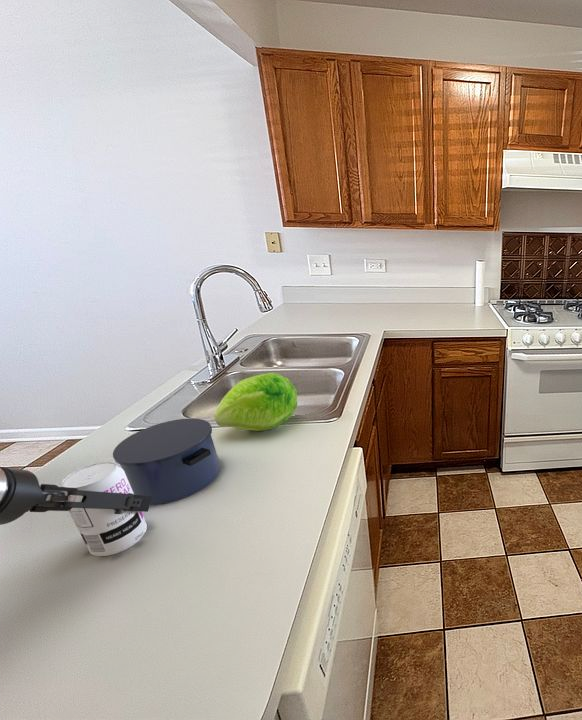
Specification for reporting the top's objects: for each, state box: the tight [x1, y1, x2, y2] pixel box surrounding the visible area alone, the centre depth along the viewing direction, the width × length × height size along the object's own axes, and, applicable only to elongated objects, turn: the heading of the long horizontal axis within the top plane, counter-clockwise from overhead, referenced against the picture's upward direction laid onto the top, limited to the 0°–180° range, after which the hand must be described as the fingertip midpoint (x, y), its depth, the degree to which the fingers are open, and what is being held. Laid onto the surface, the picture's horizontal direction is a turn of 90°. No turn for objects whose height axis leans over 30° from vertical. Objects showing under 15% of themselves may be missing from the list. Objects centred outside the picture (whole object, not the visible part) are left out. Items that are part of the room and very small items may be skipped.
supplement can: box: [60, 461, 148, 557], centre depth 70 cm, size 8×8×15 cm
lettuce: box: [213, 372, 298, 432], centre depth 107 cm, size 17×20×15 cm
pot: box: [112, 417, 222, 506], centre depth 87 cm, size 20×17×11 cm
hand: (125, 503), depth 74 cm, fingers closed on supplement can, 8 cm apart
